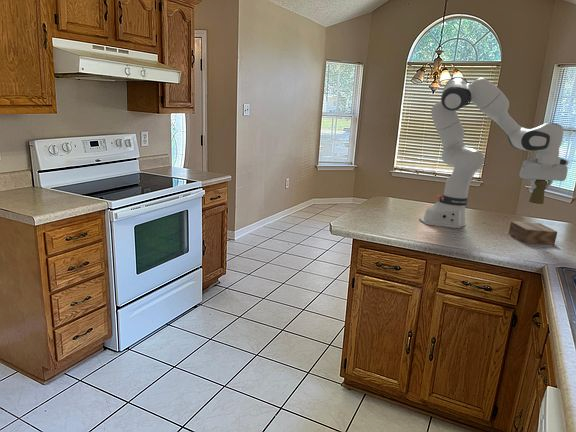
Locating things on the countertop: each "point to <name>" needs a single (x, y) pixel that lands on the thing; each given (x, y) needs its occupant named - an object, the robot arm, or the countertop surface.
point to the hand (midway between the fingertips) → (539, 189)
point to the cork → (538, 192)
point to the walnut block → (532, 232)
